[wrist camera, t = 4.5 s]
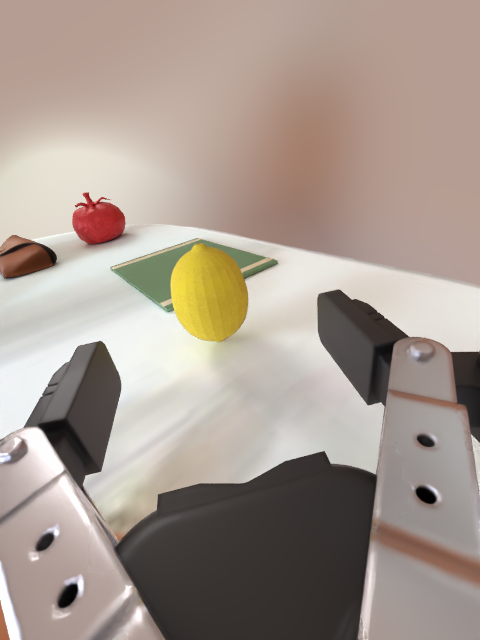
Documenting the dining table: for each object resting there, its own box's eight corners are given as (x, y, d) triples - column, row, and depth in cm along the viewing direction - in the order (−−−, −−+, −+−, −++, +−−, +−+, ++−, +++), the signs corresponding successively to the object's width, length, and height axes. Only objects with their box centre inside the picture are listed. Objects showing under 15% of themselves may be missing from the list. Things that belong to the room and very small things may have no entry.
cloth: (167, 312, 30) (166, 308, 29) (111, 269, 44) (109, 266, 44) (277, 263, 36) (277, 260, 36) (197, 240, 51) (196, 237, 51)
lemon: (238, 315, 27) (223, 226, 23) (265, 346, 22) (252, 242, 18) (179, 335, 26) (151, 244, 21) (195, 372, 21) (164, 266, 17)
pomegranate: (139, 232, 63) (124, 185, 59) (98, 248, 57) (78, 196, 52) (111, 231, 69) (95, 188, 64) (71, 245, 62) (50, 198, 57)
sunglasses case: (-18, 263, 58) (-15, 228, 57) (25, 269, 63) (29, 237, 62) (4, 279, 46) (8, 236, 45) (55, 284, 52) (59, 246, 51)
